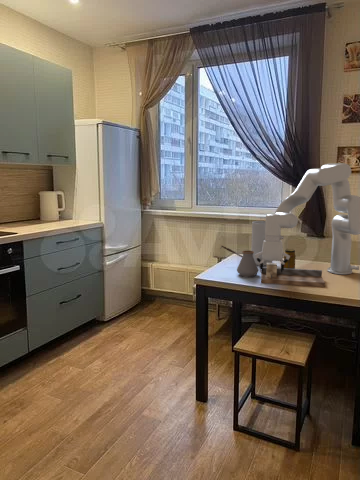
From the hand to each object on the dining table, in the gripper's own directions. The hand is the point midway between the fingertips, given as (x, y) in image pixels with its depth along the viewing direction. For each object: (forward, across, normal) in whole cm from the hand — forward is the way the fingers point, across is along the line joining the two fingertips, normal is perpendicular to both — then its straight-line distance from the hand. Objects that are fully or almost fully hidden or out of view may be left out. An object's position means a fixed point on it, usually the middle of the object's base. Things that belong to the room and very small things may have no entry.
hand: (271, 271), depth 188 cm
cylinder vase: (+5, +5, -33) cm, 34 cm away
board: (+4, -10, +2) cm, 11 cm away
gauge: (+2, 0, +2) cm, 3 cm away
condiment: (+5, -11, -19) cm, 22 cm away
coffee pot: (+4, +17, -7) cm, 19 cm away
